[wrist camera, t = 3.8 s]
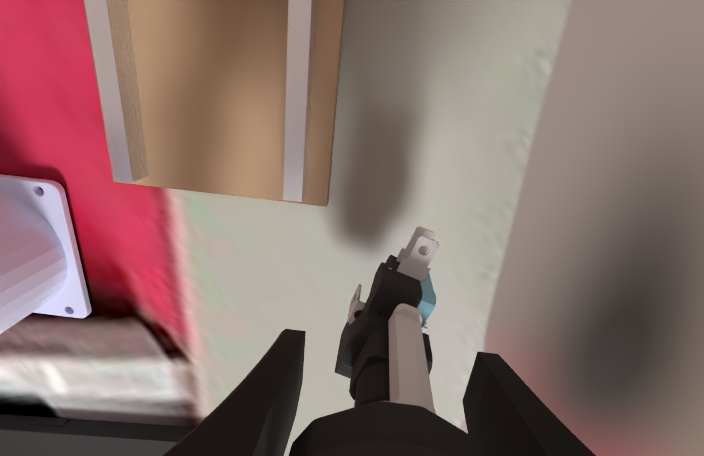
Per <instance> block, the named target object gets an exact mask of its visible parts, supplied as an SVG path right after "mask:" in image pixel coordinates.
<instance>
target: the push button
mask: <svg viewBox="0 0 704 456" xmlns="http://www.w3.org/2000/svg"><path fill="white" fill-rule="evenodd" d="M417 238H418V239H417ZM434 238H435V233H434V232H432V231H429V230H427V229H425V228H422V227H417V228H416V230H415V232H414V234H413V236H412V238H411V240H410V242H409V244H408V246H407V248H406V249H404V248H402V249H401V251H400V253H399V255H398V257H395V256H392V255H390V256H389V258H388V259H387V261H386V263H383V262H382V263H381V264H380V266H379V268H378V270H377V272H376V274H375V277H374V281H373V284H372V288H371V291H370V295H369V297H368V299H367V301H366V303H363V302H361V301H360V300H359V298H360V292H361V284H359V285H358V287H357V289H356V291H355V294H354V296H353V298H352V300H351V303H350V308H349V314H348V317H349V318H348V320H347V323H346V325H345V327H344V329H343V332H342V335H341V339H340V345H339V351H338V356H337V362H336V367H335V373H338V374H340V375H343V376H346V377H348V378H351V381H350V390H349V392H350V394H351V396H352V398H353V399H354V400H355V402H354V408H351V409H348V410H344V411H341V412H337V413H334V414H331V415H327V416H324V417H320V418H317V419H315V420H314V421H312V422H311V423H310V424H309V425H308V427H307V428H306V429H305V430H304V431H303V432H302V433H301V434H300V435H299V436H298V438H297V439H296V440H295V441H294V442H293V444H292V446H291V450H290V454H289V456H487V454H486V452H485V450H484V448H483V446H482V444H481V443H480V442H479V441H478V440H477V439H475V438H474V437H472V436H471V435H469V434H467V433H465V432H464V431H462V430H461V429H459V428H457V427H456V426H454V425H452V424H451V423H449V422H447V421H446V420H444V419H442V418H441V417H439V416H438V415H436V413H435V409H434V405H433V398H432V392H431V386H430V380H429V374H430V371H431V368H432V352H431V346H430V341H429V335H427V334H425V331H426V330H427V327H425V326H426V319H427V318H429V316H430V314H431V313H432V311H433V309H434V307H435V304H436V296H435V293H434V291H433V287H432V283H431V279H430V275H429V271H430V268H427V266H428V264H429V263H430V261H431V259H432V257H433V255H434V254H435V252H436V250H437V248H438V246H439V244H438V242H437V241H435V240H434ZM416 240H417V241H416ZM428 249H429V253H428V254H426V253H427V251H428Z"/></svg>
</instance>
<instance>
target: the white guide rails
mask: <svg viewBox="0 0 704 456" xmlns="http://www.w3.org/2000/svg"><path fill="white" fill-rule="evenodd" d="M84 2H85V8H86V14H87V20H88V26H89V32H90V38H91V44H92V50H93V56H94V62H95V68H96V74H97V80H98V86H99V92H100V98H101V104H102V110H103V116H104V122H105V128H106V134H107V140H108V146H109V152H110V158H111V164H112V170H113V176H114V180H117V181H126V182H135V181H137V180H140V179H142V178H144V177H147V176H149V169H148V161H147V153H146V145H145V137H144V130H143V122H142V114H141V106H140V98H139V90H138V82H137V74H136V66H135V58H134V50H133V42H132V34H131V26H130V18H129V10H128V3H127V0H84ZM316 14H317V0H288V35H287V72H286V109H285V146H284V183H283V200H288V201H297V202H302V201H303V199H304V197H305V196H306V194H307V179H308V160H309V142H310V124H311V105H312V87H313V69H314V50H315V32H316Z"/></svg>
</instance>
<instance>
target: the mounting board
mask: <svg viewBox="0 0 704 456" xmlns="http://www.w3.org/2000/svg"><path fill="white" fill-rule="evenodd" d="M83 2H84V0H83ZM127 3H128V10H129V18H130V26H131V34H132V42H133V50H134V58H135V66H136V74H137V82H138V90H139V98H140V106H141V114H142V122H143V130H144V137H145V145H146V153H147V161H148V169H149V176H147V177H144V178H142V179H140V180H137V181H135V182H126V181H117V180H114V176H113V181H114V182H121V183H130V184H138V185H147V186H155V187H164V188H172V189H181V190H189V191H198V192H207V193H215V194H224V195H232V196H241V197H249V198H258V199H267V200H275V201H284V202H292V203H301V204H309V205H318V206H327V204H328V201H329V190H330V177H331V165H332V152H333V140H334V128H335V115H336V103H337V90H338V78H339V66H340V53H341V41H342V28H343V16H344V4H345V0H317V14H316V32H315V50H314V69H313V87H312V105H311V124H310V142H309V160H308V179H307V194H306V196H305V197H304V199H303V201H302V202H297V201H288V200H283V183H284V146H285V109H286V72H287V35H288V0H127ZM84 8H85V2H84ZM85 14H86V8H85ZM86 20H87V14H86ZM87 26H88V20H87ZM88 32H89V26H88ZM89 38H90V32H89ZM90 44H91V38H90ZM91 50H92V44H91ZM92 56H93V50H92ZM93 62H94V56H93ZM94 68H95V62H94ZM95 74H96V68H95ZM96 80H97V74H96ZM97 86H98V80H97ZM98 92H99V86H98ZM99 97H100V92H99ZM100 103H101V98H100ZM101 109H102V104H101ZM102 115H103V110H102ZM103 121H104V116H103ZM104 127H105V122H104ZM105 133H106V128H105ZM106 139H107V134H106ZM107 145H108V140H107ZM108 151H109V146H108ZM109 157H110V152H109ZM110 163H111V158H110ZM111 169H112V164H111ZM112 175H113V170H112Z"/></svg>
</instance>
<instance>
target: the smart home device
mask: <svg viewBox="0 0 704 456" xmlns="http://www.w3.org/2000/svg"><path fill="white" fill-rule="evenodd" d="M193 429H194V427H180V426H165V425H151V424H136V423H121V422H107V421H92V420H78V419H64V418H50V417H36V416H35V417H34V416H19V415H0V456H162V455H163V454H164V453H166V452H167V451H168V450H169V449H170V448H172V447H173V446H174V445H175V444H176V443H178V442H179V441H180V440H181V439H182V438H184V437H185V436H186V435H187V434H188V433H190V432H191V431H192V430H193Z"/></svg>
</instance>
